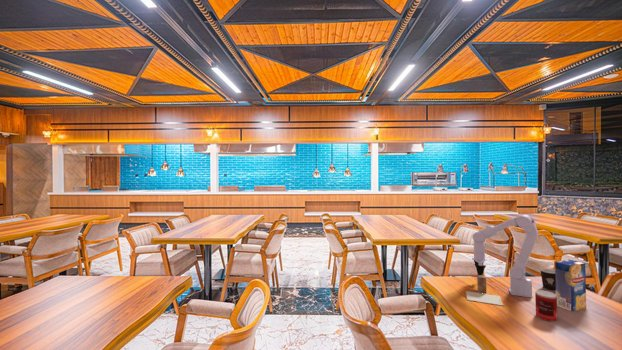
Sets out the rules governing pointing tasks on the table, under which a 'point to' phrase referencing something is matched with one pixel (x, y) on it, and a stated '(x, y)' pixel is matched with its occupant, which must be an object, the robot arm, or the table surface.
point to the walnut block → (481, 284)
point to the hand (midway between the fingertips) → (479, 274)
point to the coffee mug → (548, 279)
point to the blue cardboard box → (570, 284)
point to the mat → (484, 298)
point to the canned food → (546, 305)
